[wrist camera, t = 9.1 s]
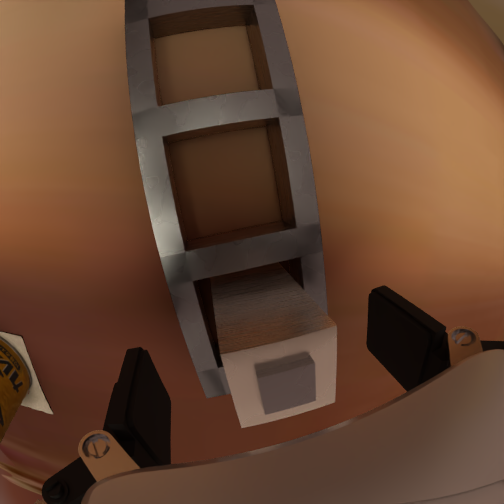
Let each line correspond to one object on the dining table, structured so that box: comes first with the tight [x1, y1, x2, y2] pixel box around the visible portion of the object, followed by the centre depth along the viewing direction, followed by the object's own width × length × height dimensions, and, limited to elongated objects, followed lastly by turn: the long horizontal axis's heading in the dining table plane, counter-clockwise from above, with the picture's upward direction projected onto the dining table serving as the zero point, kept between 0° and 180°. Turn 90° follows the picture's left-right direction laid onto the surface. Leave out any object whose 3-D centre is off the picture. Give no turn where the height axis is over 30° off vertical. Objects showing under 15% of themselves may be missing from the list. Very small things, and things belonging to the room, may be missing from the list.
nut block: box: [210, 262, 337, 428], centre depth 13 cm, size 4×4×8 cm
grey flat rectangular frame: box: [125, 0, 328, 398], centre depth 14 cm, size 24×8×2 cm, turn 10°
